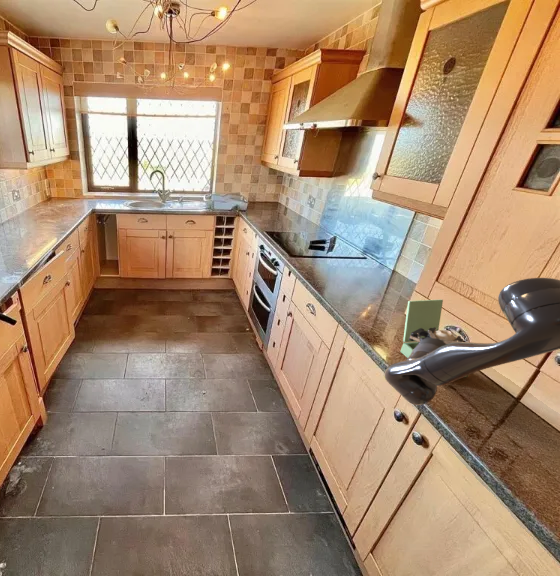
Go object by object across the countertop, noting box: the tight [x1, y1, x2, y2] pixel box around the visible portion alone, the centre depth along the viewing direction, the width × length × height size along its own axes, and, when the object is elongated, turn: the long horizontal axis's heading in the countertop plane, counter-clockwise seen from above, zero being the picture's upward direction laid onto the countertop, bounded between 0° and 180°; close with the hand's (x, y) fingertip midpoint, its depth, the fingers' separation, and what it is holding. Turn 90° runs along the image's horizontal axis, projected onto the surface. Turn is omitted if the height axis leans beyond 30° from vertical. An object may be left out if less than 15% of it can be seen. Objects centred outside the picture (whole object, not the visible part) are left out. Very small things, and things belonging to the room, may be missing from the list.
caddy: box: [400, 341, 469, 378], centre depth 98 cm, size 13×11×4 cm
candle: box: [433, 329, 457, 341], centre depth 95 cm, size 6×6×10 cm
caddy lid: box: [402, 298, 444, 343], centre depth 103 cm, size 14×11×4 cm
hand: (445, 334), depth 96 cm, fingers closed on candle, 5 cm apart
